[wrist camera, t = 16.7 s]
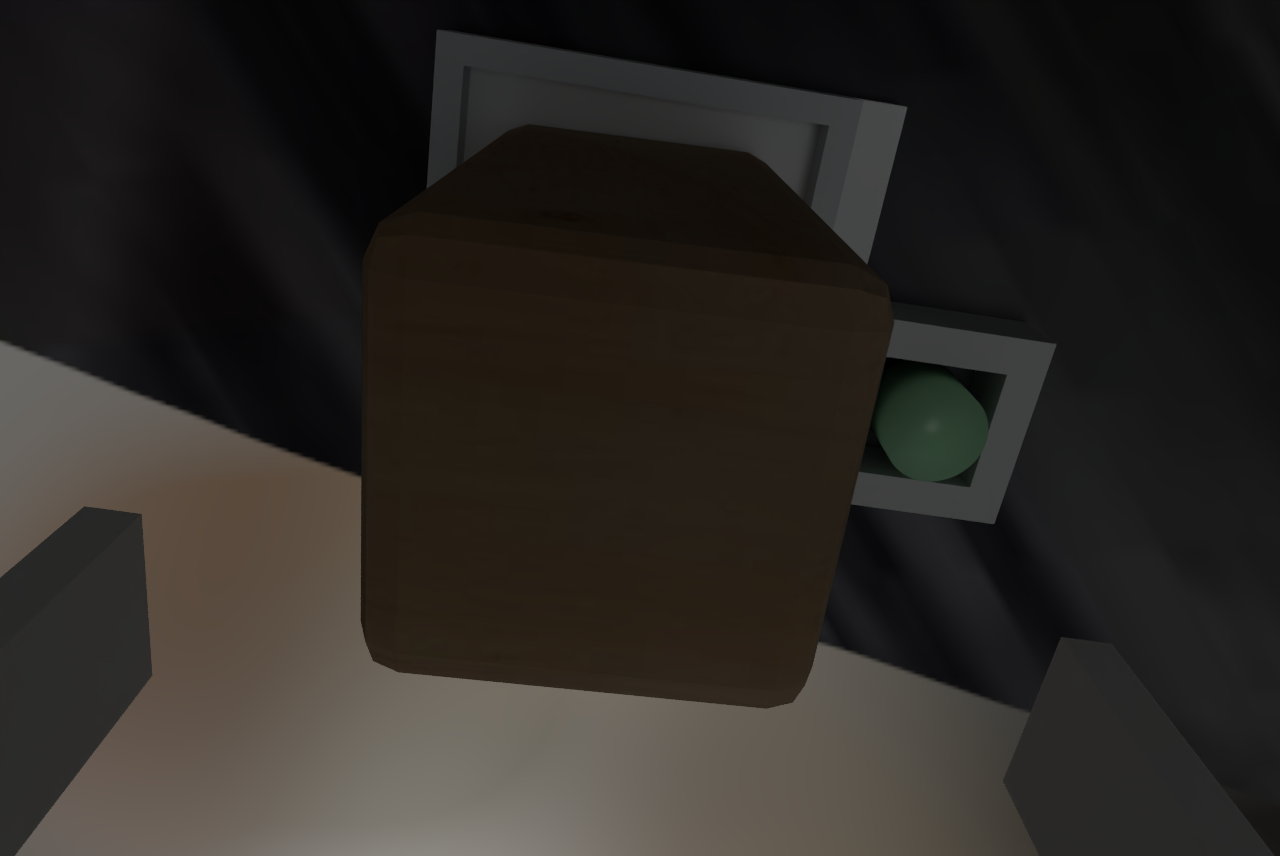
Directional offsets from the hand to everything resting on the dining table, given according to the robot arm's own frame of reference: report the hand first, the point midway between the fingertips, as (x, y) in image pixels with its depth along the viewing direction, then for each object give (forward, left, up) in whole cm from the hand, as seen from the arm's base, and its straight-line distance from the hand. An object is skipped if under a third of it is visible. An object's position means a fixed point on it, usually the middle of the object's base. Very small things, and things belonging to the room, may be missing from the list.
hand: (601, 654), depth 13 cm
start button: (+4, +13, -25) cm, 29 cm away
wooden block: (0, 0, -25) cm, 25 cm away
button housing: (+4, +13, -26) cm, 29 cm away
